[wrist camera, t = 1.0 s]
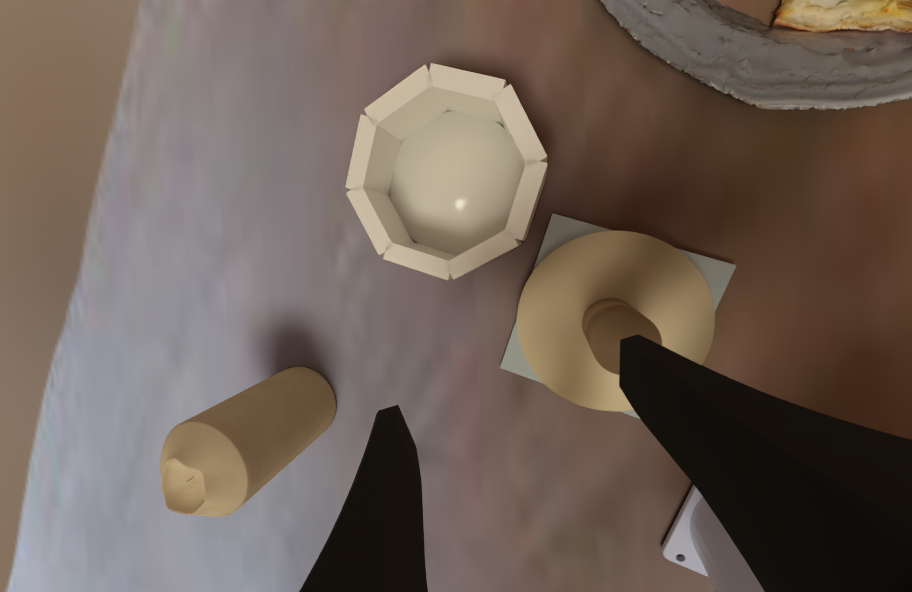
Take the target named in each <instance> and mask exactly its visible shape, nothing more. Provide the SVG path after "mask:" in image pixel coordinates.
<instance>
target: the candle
mask: <svg viewBox="0 0 912 592" xmlns="http://www.w3.org/2000/svg"><path fill="white" fill-rule="evenodd" d="M335 413H336V399H335V395H334V392H333V390H332V388H331V386H330V385H329V383H328V382H327V380H326V379H325V378H324V377H323V376H321V375H320V374H319V373H318V372H316V371H314V370H312V369H310V368H306V367H292V368H288V369H286V370H284V371H281V372H279V373H277V374H275V375H273V376H271V377H270V378H268V379H266V380H264V381H262V382H260V383H258V384H256V385H254V386H252V387H250V388H248V389H246V390H244V391H242V392H240V393H239V394H237V395H235V396H233V397H231V398H229V399H227V400H225V401H223V402H221V403H219V404H217V405H215V406H213V407H211V408H209V409H208V410H206V411H204V412H202V413H200V414H198V415H196V416H194V417H192V418H190V419H188V420H186V421H184V422H182V423H181V424H179V425H177V426H175V427H174V428H173V429H172V430H171V431H170V433H169V434H168V436H167V437H166V440H165V443H164V445H163V449H162V453H161V459H160V471H161V489H162V492H163V495H164V497H165V502H166V506H167V507H168V509H170V510H171V511H174V512H177V513H181V514H186V515H202V516H225V515H229V514H231V513H233V512H235V511H236V510H237V509H239V508H240V507H241V506H242V505H243V504H244V503H245V502H246V501H247V500H249V499H250V498H251V497H252V496H253V495H254V494H255V493H256V492H258V491H259V490H260V489H261V488H262V487H263V486H264V485H265V484H266V483H268V482H269V481H270V480H271V479H272V478H273V477H274V476H275V475H276V474H278V473H279V472H280V471H281V470H282V469H283V468H284V467H285V466H287V465H288V464H289V463H290V462H291V461H292V460H293V459H294V458H295V457H297V456H298V455H299V454H300V453H301V452H302V451H303V450H304V449H305V448H307V447H308V446H309V445H310V444H311V443H312V442H313V441H314V440H316V439H317V438H318V437H319V436H320V435H321V434H322V433H323V432H324V431H325V430H326V429H327V428H328V427H329V426H330V424H331V423H332V421H333V419H334V417H335Z"/></svg>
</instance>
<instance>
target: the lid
mask: <svg viewBox="0 0 912 592" xmlns="http://www.w3.org/2000/svg"><path fill="white" fill-rule="evenodd" d="M714 330H715V310H714V304H713V300H712V296H711V293H710V290H709V288H708V285H707V283H706V281H705V280H704V278H703V276H702V275H701V273H700V271H699V270H698V269H697V268H696V267H695V265H694V264H693V263H692V262H691V261H690V260H689V259H688V258H687V257H686V256H685V255H684V254H683V253H681V252H680V251H679V250H677V249H676V248H674V247H673V246H671V245H670V244H668V243H666V242H664V241H662V240H660V239H657V238H654V237H652V236H649V235H646V234H641V233H636V232H629V231H603V232H597V233H591V234H588V235H584V236H581V237H578V238H576V239H573V240H571V241H569V242H567V243H565V244H563V245H561V246H560V247H558V248H556V249H555V250H554V251H553V252H551V253H550V254H549V255H547V256H546V257H545V258H544V259H543V260H542V261H541V262H540V263H539V265H538V266H537V267H536V268H535V270H534V271H533V272H532V274H531V275H530V277H529V279H528V281H527V282H526V285H525V287H524V289H523V292H522V294H521V298H520V302H519V305H518V312H517V332H518V338H519V342H520V346H521V349H522V352H523V354H524V356H525V359H526V361H527V362H528V364H529V366H530V367H531V369H532V370H533V372H534V373H535V374H536V375H537V377H538V378H539V379H540V380H541V381H542V382H543V383H544V384H545V385H546V386H547V387H548V388H550V389H551V390H552V391H554V392H555V393H556V394H558V395H559V396H561V397H563V398H565V399H566V400H568V401H571V402H573V403H575V404H577V405H581V406H584V407H587V408H591V409H597V410H603V411H627V410H633V408H632V406H631V404H630V403H629V401H628V400H627V398H626V397H625V395H624V393H623V392H622V390H621V388H620V387H619V368H620V340H621V339H624V338H627V337H631V336H634V335H638V334H639V335H641V336H643V337H645V338H647V339H649V340H652V341H654V342H656V343H658V344H660V345H662V346H664V347H666V348H668V349H670V350H672V351H674V352H676V353H678V354H680V355H682V356H684V357H686V358H688V359H690V360H692V361H694V362H696V363H698V364H700V365H702V364H703V362H704V361H705V359H706V357H707V355H708V352H709V350H710V347H711V345H712V340H713V336H714Z"/></svg>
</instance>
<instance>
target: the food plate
mask: <svg viewBox="0 0 912 592" xmlns="http://www.w3.org/2000/svg"><path fill="white" fill-rule="evenodd" d="M601 2H602V3H604V4H603V5H606V7H605V8H606V9H607V10H608V12H609V13H611V14H612V15H614V16H615V17H614V18H616V19H617V21H619V23H620V26H621V27H622V26H623V28H625V29H626V30H627V31H628V32H629V33H630V34H631V35H632V37H633V39H636V40H637V41H640V42H637V41H636V42H637V43H638V44H639V45H640V46H641V45H642V46H643V47H644V48H646V49H647V50H649V51H650V52H651V53H652V54H654V55H655V56H656V55H657V56H658V57H660V58H661V59H663V60H664V61H667V63H669V64H671V66H674V68H676V69H677V70H680V71H681V72H682V69H683V70H684V73H689V74H690V75H691V77H695V78H696V79H699V80H701V81H699V82H700V83H706V84H707V86H710V87H712V86H713V87H714V88H715V89H716V90H719V91H721V92H722V93H724V94H728V93H730V94H733V95H732V96H733V97H735V98H736V99H740V100H742V101H743V102H744V103H747V104H750V105H751V106H753V105H754V106H755V107H758V108H765V109H774V110H781V109H785V110H787V109H789V108H790V109H791V110H797V109H799V110H804V109H806V110H807V109H810V107H814V108H816V109H818V108H820V109H819V110H827V109H832V108H833V109H834V110H836V109H838V110H839V109H840V108H844V110H845V109H846V108H855V107H858V106H860V107H862V106H865V105H866V106H878V105H879V104H883V103H886V102H890V103H893V102H894V101H897V102H898V101H899V100H900V101H901V100H902V99H903V100H907V99H911V98H912V0H782V2H781V6H780V7H779V8H778V9H777V10H776V11H775V12H774V15H775V16H774V19H773V21H772V22H771V24H770V25H769V26H767V25H765V24H763V23H762V22H761V21H760V20H759V19H756V18H752V17H750V16H748V15H746V14H744V13H741V12H739V11H736V10H734V9H733V8H731V7H727V6H721V4H720V3H719V2H716V1H715V0H601ZM845 48H853V49H854V50H853V51H852V52H846V51H844V49H845ZM865 48H867V49H865ZM682 73H683V72H682Z"/></svg>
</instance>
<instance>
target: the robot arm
mask: <svg viewBox="0 0 912 592" xmlns="http://www.w3.org/2000/svg"><path fill="white" fill-rule="evenodd" d="M619 387H620V388H621V390H622V392H623V393H624V395H625V397H626V398H627V400H628V401H629V403H630V404H631V406H632V408H633V409H634V411H635V412H636V414H637V415H638V416H639V418H640V419H641V420H642V421H643V423H644V424H645V425H646V426H647V428H648V429H649V430H650V431H651V433H652V434H653V435H654V436H655V437H656V439H657V440H658V441H659V442H660V444H661V445H662V446H663V447H664V448H665V450H666V451H667V452H668V453H669V454H670V456H671V457H672V458H673V459H674V461H675V462H676V463H677V464H678V465H679V467H680V468H681V469H682V470H683V472H684V473H685V474H686V475H687V476H688V478H689V479H690V480H691V482H692V483H693V486H692V488H691V490H690V492H689V494H688V496H687V498H686V500H685V502H684V504H683V506H682V508H681V510H680V512H679V514H678V516H677V518H676V520H675V522H674V524H673V526H672V528H671V530H670V531H669V533H668V535H667V537H666V539H665V541H664V543H663V545H662V548H661V549H662V553H663V555H664V557H665V558H666V559H668V560H670V561H672V562H674V563H677V564H679V565H682V566H684V567H686V568H689V569H691V570H693V571H696V572H698V573H700V574H703V575H705V576H707V577H709V578H710V580H711V582H712V584H713V586H714V588H715V590H716V592H912V440H910V439H906V438H902V437H898V436H895V435H891V434H887V433H884V432H880V431H877V430H873V429H870V428H866V427H863V426H860V425H856V424H853V423H850V422H847V421H843V420H840V419H837V418H834V417H830V416H827V415H824V414H821V413H818V412H815V411H812V410H809V409H807V408H804V407H801V406H798V405H796V404H793V403H790V402H787V401H785V400H782V399H779V398H776V397H774V396H771V395H769V394H766V393H764V392H761V391H759V390H756V389H754V388H751V387H749V386H747V385H744V384H742V383H740V382H737V381H735V380H733V379H730V378H728V377H726V376H724V375H721V374H719V373H717V372H715V371H713V370H711V369H708V368H706V367H704V366H702V365H700V364H698V363H696V362H694V361H692V360H690V359H688V358H686V357H684V356H682V355H680V354H678V353H676V352H674V351H672V350H670V349H668V348H666V347H664V346H662V345H660V344H658V343H656V342H654V341H652V340H649V339H647V338H645V337H643V336H641V335H639V334H638V335H634V336H631V337H627V338H624V339H621V340H620V368H619ZM678 554H682V556H677V555H678ZM299 592H428V589H427V581H426V569H425V554H424V530H423V506H422V485H421V475H420V468H419V462H418V455H417V449H416V445H415V443H414V441H413V438H412V436H411V434H410V431H409V429H408V427H407V424H406V422H405V420H404V417H403V415H402V413H401V411H400V408H399V406H398V405H396V406H393V407H389V408H386V409H383V410H379V411H378V413H377V414H376V418H375V421H374V424H373V428H372V431H371V434H370V437H369V441H368V443H367V446H366V449H365V452H364V455H363V458H362V461H361V463H360V466H359V469H358V471H357V474H356V477H355V479H354V482H353V484H352V487H351V489H350V491H349V494H348V496H347V498H346V501H345V503H344V505H343V508H342V510H341V512H340V515H339V517H338V519H337V521H336V523H335V525H334V527H333V529H332V532H331V534H330V536H329V538H328V540H327V542H326V544H325V545H324V547H323V549H322V551H321V553H320V555H319V557H318V559H317V561H316V563H315V564H314V566H313V568H312V570H311V572H310V573H309V575H308V577H307V579H306V581H305V582H304V584H303V586H302V588H301V590H300V591H299Z"/></svg>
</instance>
